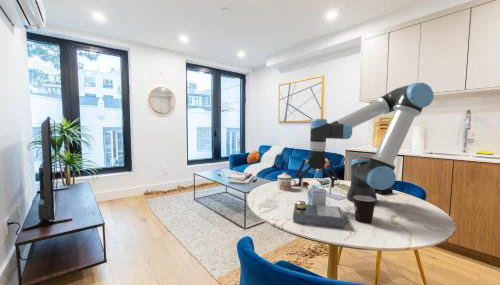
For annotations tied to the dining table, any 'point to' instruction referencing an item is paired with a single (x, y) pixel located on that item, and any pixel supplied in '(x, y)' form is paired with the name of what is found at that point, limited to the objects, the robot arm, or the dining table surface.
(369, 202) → the coffee mug
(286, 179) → the teacup with lid
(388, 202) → the dining table surface
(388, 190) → the battery charger
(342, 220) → the plate
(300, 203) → the press pin
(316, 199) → the light bulb box
